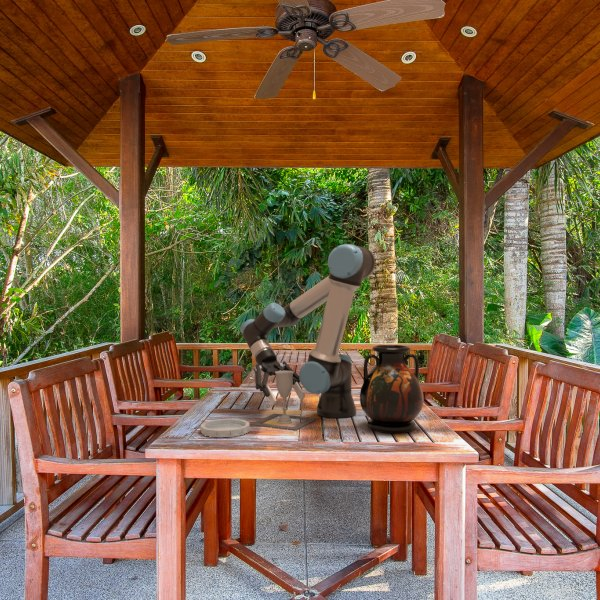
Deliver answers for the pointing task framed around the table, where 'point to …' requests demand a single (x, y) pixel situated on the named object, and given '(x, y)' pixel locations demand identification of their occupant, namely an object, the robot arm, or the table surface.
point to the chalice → (284, 391)
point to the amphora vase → (391, 390)
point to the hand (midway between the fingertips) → (288, 400)
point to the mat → (307, 421)
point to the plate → (224, 427)
